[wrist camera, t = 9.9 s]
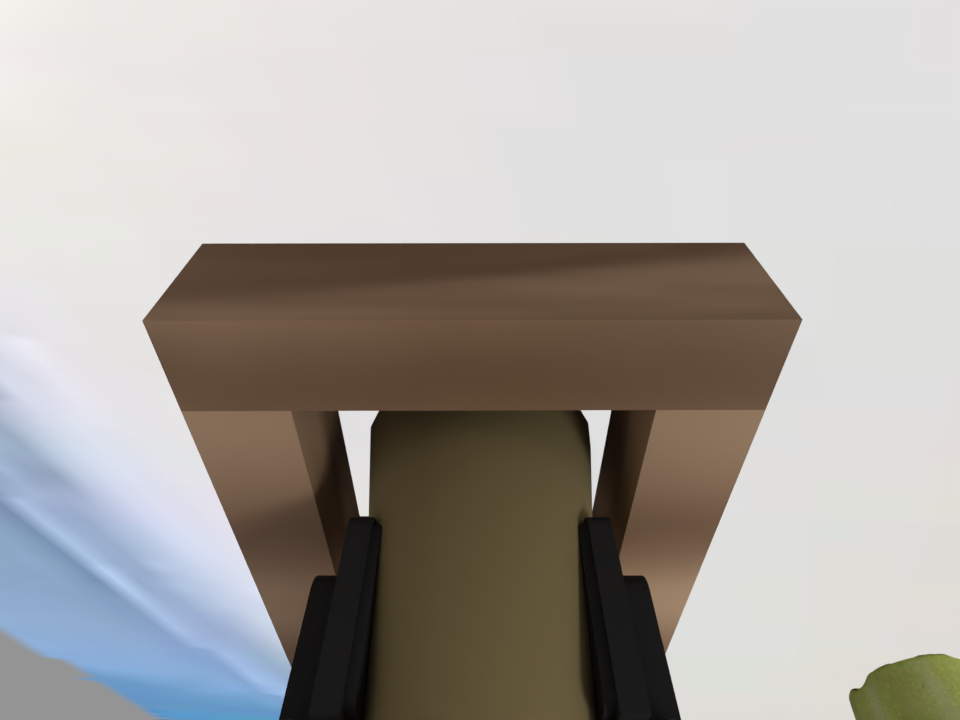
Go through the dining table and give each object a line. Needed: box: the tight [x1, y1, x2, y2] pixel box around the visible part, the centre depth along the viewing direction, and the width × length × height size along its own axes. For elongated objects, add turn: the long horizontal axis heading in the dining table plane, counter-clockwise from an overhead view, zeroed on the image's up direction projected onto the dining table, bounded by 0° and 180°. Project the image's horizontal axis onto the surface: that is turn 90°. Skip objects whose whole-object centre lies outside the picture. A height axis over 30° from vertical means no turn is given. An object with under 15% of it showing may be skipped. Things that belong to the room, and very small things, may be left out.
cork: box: [364, 410, 596, 720], centre depth 12 cm, size 6×6×11 cm
